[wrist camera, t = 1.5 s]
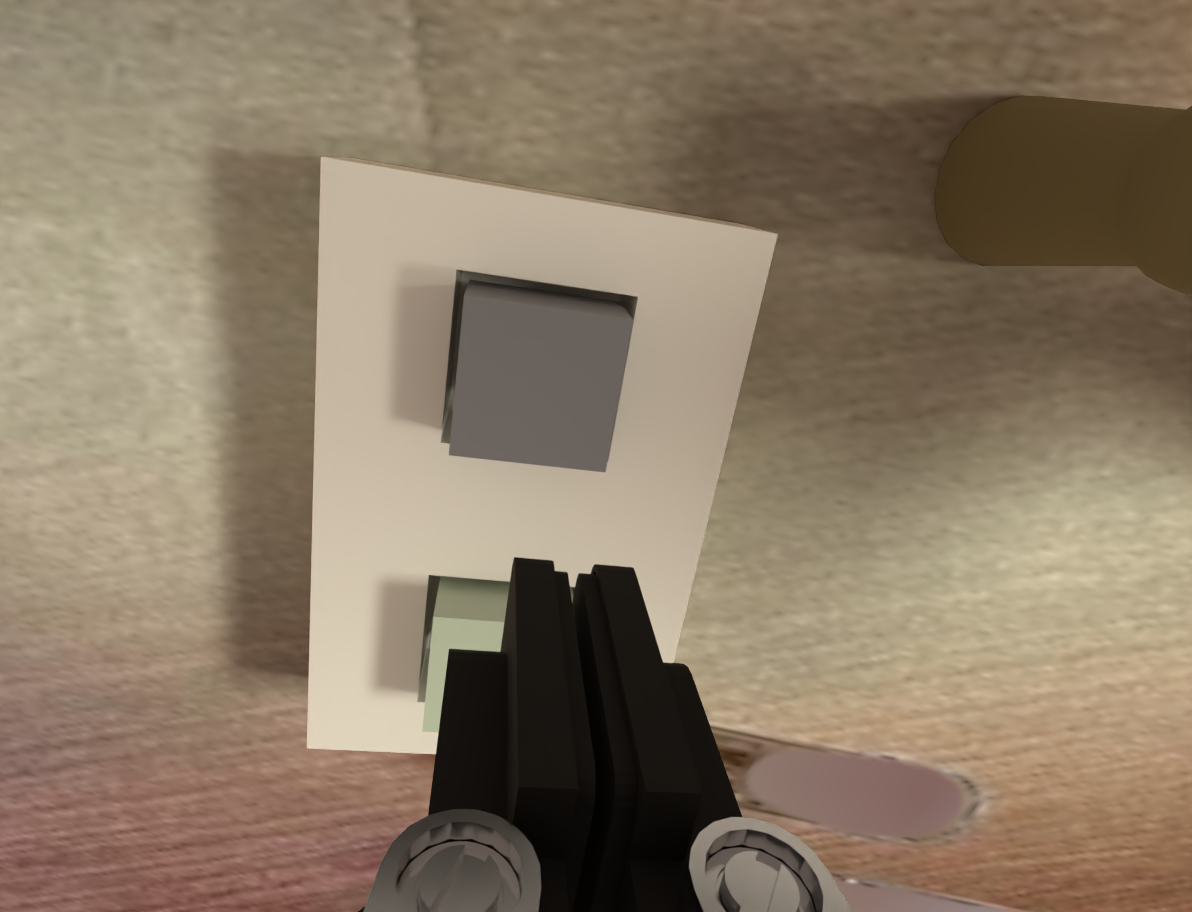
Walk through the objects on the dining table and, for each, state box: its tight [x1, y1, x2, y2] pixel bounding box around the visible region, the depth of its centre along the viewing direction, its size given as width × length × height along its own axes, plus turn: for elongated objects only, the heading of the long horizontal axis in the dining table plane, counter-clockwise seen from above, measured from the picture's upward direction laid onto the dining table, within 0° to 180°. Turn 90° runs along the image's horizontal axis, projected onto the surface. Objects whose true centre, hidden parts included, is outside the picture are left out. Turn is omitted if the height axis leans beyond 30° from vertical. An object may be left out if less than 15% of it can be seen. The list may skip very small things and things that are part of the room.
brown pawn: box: [935, 96, 1192, 295], centre depth 22 cm, size 6×6×11 cm
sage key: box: [422, 576, 573, 732], centre depth 27 cm, size 5×5×3 cm
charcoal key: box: [449, 280, 633, 472], centre depth 23 cm, size 5×5×3 cm
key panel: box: [307, 157, 778, 754], centre depth 28 cm, size 14×22×4 cm, turn 171°
